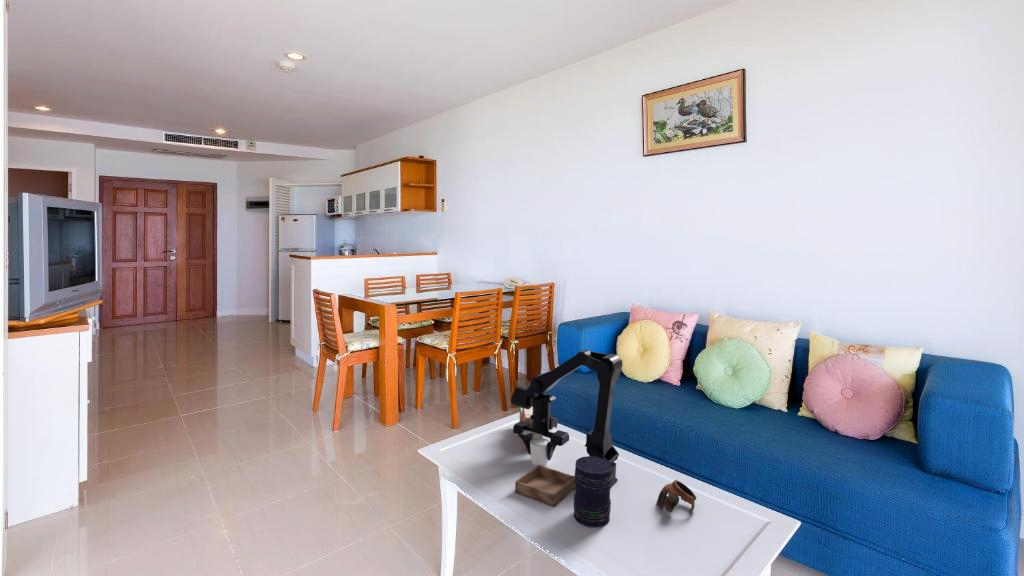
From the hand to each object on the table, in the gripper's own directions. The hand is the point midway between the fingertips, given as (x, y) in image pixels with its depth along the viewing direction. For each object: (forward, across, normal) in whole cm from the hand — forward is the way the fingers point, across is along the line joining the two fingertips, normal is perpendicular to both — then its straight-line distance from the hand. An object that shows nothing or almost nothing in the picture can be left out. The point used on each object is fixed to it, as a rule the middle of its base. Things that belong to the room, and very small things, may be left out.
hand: (539, 457), depth 165 cm
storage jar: (+2, -28, +20) cm, 34 cm away
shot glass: (+2, 0, 0) cm, 2 cm away
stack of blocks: (+2, +13, -15) cm, 19 cm away
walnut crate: (+2, -11, +15) cm, 19 cm away
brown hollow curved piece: (+2, -45, +3) cm, 45 cm away
